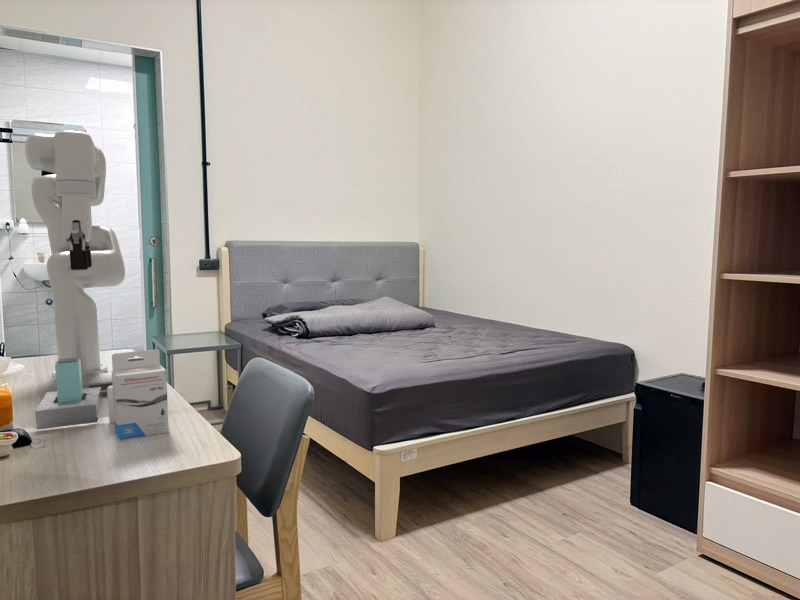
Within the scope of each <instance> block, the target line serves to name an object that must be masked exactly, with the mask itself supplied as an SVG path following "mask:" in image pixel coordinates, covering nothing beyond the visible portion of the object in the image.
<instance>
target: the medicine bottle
mask: <svg viewBox="0 0 800 600" xmlns="http://www.w3.org/2000/svg"><path fill="white" fill-rule="evenodd" d="M144 359H145V357H136V358H135V357H134V358H129V359H128V361H129V362H130V361H140V360H144ZM107 394H108V396H107V407H108V408H107V409H108V410H107V411H108V420H109V423H111V424H114V425H115V423H114V404H113V387H112V386H108V387H107Z"/></svg>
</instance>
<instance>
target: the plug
mask: <svg viewBox="0 0 800 600" xmlns="http://www.w3.org/2000/svg"><path fill="white" fill-rule="evenodd" d="M54 367H55V369H54V370H56V377H55V381H56V383H55V384H56V391H57V397H58V403H62V402H71V401H81V400H83V388H82V385H83V378H82V377H83V375H82V373H81V359H80V358H66V359H59V360H58V359H57V360H56V361H55V364H54Z"/></svg>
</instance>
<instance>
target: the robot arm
mask: <svg viewBox="0 0 800 600" xmlns="http://www.w3.org/2000/svg"><path fill="white" fill-rule="evenodd" d="M24 154H25V159H26V162H27V164H28V166H29V167H30V168H31V169H32V170H36V171H43V172H48V173H52V174H45V175H41V176H39V177H36V178H35V179H34V180H33V181H32V184H31V197H32V201H33V203H34V204H33V205H34V207H35V210H36V212H37V214H38V215H39V217H40V219H41V221H43V223H44V224H45V226H46V230H47V236H48V241H49V248H50V250H51V253H52V254H51V255H50V256H49V257H48V258H47V260H46V261H47V262H46V271H47V276H48V279H49V285H50V288H51V294H52V303H53V314H54V323H55V325H54V326H55V336H56V337H55V338H56V352H57V353H56V354H57V360H59V359H66V358H80V359H81V373H82V376H84V375H93V374H103V373H106V372H107V371H108V366H107V365H106V364H102V363H101V357H100V356H101V355H100V353H101V352H100V342H99V341H100V339H99V338H100V337H99V324H98V310H97V309H98V308H97V305H96V302H95V300H94V299H93V298H92V297H91V296H90V295H89V294H87V292H85V291H84V290H85V289H90V288H108V287H116V286H117V287H118V286H119V285H121V284H122V283H123V282H124V280H125V276H126V269H125V264H124V263H125V262H124V259H123V255H122V252H121V248H120V244H119V241H118V238H117V234H116V233H115V231H114V230H113V229H112V228H110V227H108V226H106V225H105V226H104V225H93V224H92V223H93V222H92V221H93V220H92V207H97V206H100V205H101V204H102V203H103V202H104V197H105V188H106V175H107V162H106V161H107V160H106V156H105V154H104V152H103V151H102V149H101V148H100V147H99V146H97V145H96V144H95V143H94V141H93V138H92V136H91V135H90V134H88V133H86V132H83V131H74V130H60V131H57V132H55V133H54V134H50V133H49V134H48V133H46V134H45V133H32V134H29V135H28V136H27V138H26V141H25V146H24ZM51 377H52V378H56V370H55V369H54V370H52V371H51Z"/></svg>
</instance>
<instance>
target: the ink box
mask: <svg viewBox="0 0 800 600" xmlns="http://www.w3.org/2000/svg"><path fill="white" fill-rule="evenodd" d="M160 353H161V352H160V349H158V348H157V349H149V350H148V349H145V350H136V351H126V352H117V353H113V354H111V367H112V371H111V382H112V387H113V404H114V423H115V424H114V423H113V424H114V434H115V436H116V437H117V439H118V440H119V441H123V440H124V441H125V440H130V439H135V438H142V437H147V436H153V435H159V434H165V433H169V432H170V429H169V410H168V409H169V408H168V407H169V406H168V403H169V402H168V385H167V384H168V383H167V369H165V368H164V367H163V366H162V365H161V363H160V361H161V358H160V357H161V355H160ZM135 357H137V358H144V360H140V361H130V362H129V361H128V359H131V358H135Z"/></svg>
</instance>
